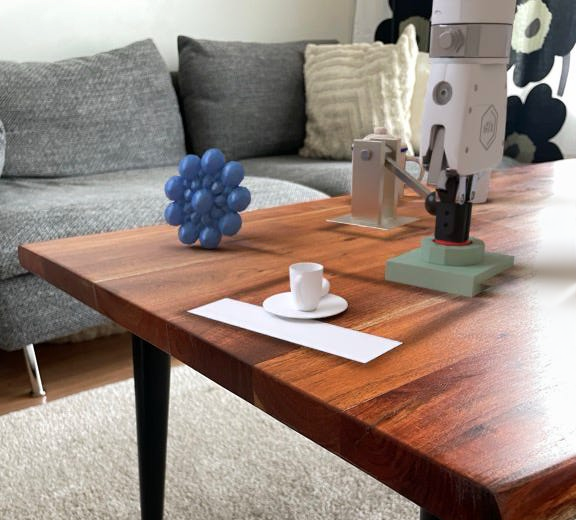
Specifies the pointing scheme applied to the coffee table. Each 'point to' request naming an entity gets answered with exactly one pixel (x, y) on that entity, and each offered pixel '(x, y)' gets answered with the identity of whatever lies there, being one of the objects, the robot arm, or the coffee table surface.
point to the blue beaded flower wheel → (206, 199)
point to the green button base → (448, 267)
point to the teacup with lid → (403, 158)
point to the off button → (452, 243)
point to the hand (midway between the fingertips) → (451, 239)
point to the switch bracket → (374, 186)
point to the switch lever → (411, 182)
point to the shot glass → (482, 188)
